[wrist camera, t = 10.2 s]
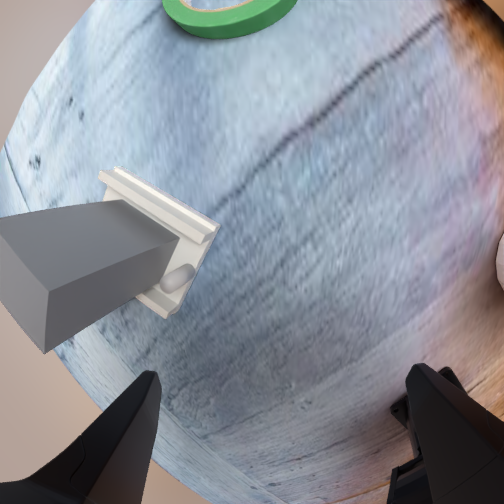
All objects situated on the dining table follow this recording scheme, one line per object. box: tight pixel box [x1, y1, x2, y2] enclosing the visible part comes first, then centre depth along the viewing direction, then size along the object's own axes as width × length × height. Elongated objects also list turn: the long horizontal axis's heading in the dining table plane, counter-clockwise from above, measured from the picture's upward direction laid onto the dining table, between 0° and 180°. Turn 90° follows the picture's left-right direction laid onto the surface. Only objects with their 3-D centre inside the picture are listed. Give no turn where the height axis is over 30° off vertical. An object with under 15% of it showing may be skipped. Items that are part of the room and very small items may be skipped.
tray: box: [98, 166, 221, 319], centre depth 20 cm, size 10×8×4 cm
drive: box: [0, 199, 180, 354], centre depth 16 cm, size 6×4×12 cm, turn 60°
